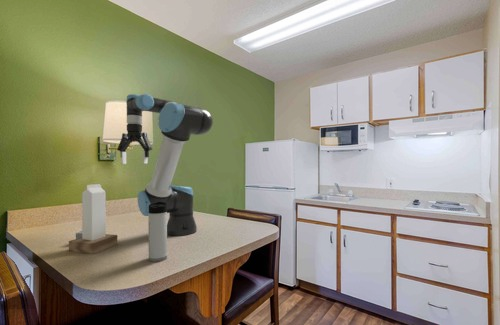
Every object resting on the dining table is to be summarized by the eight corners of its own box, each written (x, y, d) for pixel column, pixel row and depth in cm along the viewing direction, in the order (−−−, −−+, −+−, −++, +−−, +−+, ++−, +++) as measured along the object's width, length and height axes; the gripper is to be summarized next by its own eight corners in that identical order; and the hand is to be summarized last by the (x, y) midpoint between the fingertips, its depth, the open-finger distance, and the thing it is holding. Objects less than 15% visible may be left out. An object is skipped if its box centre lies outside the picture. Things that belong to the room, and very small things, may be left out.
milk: (82, 239, 102) (81, 184, 102) (96, 235, 108) (95, 183, 108) (92, 240, 100) (91, 185, 100) (106, 236, 105) (105, 183, 106)
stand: (117, 244, 108) (117, 235, 108) (93, 253, 96) (93, 243, 96) (94, 242, 111) (94, 233, 111) (68, 251, 99) (68, 241, 99)
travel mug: (169, 254, 95) (169, 201, 95) (164, 261, 88) (163, 204, 88) (152, 255, 94) (152, 201, 95) (145, 262, 88) (145, 204, 88)
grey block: (94, 241, 113) (94, 230, 113) (87, 244, 108) (87, 233, 108) (83, 241, 113) (83, 230, 113) (75, 244, 108) (75, 233, 108)
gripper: (158, 124, 136) (159, 163, 136) (120, 126, 143) (120, 163, 142) (149, 121, 129) (150, 163, 129) (109, 124, 135) (109, 163, 135)
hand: (134, 163), depth 136 cm, fingers open, 13 cm apart
